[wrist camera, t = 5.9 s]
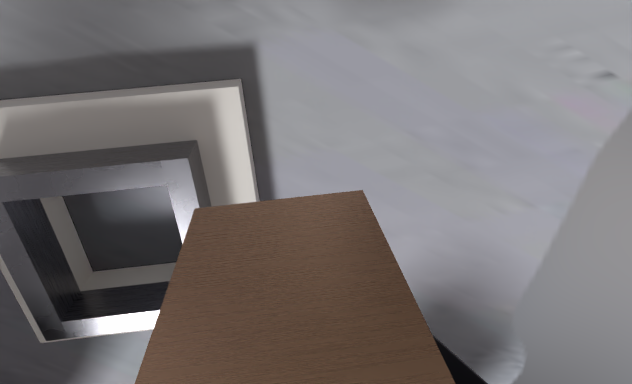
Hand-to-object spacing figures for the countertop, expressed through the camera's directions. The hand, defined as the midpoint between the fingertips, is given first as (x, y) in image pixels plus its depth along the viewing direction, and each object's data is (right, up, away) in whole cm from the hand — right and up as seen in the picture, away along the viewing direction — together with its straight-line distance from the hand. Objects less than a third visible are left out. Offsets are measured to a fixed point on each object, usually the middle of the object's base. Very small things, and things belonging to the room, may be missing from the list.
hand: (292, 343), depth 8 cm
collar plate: (-8, +2, +11) cm, 14 cm away
